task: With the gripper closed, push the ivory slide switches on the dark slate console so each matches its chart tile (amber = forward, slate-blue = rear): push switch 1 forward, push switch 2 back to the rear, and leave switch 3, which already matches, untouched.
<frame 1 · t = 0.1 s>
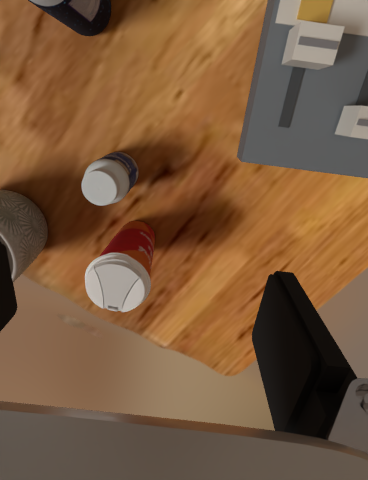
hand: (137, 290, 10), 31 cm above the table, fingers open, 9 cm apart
beverage can: (88, 8, 31), on the table
pill bottle: (120, 170, 39), on the table
planter: (17, 221, 43), on the table
console: (346, 94, 34), on the table
slider 2: (365, 123, 30), point 6 cm above the table, slide at 6.0 cm
paper cup: (137, 235, 44), on the table
slider 1: (310, 46, 27), point 6 cm above the table, slide at 0.0 cm
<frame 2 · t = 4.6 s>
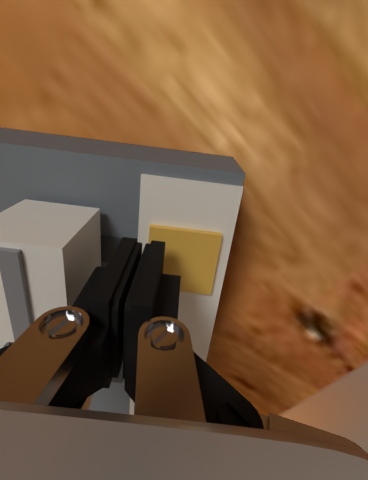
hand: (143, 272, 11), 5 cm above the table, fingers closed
console: (72, 316, 19), on the table
slider 1: (45, 270, 10), point 6 cm above the table, slide at 1.0 cm, touching gripper
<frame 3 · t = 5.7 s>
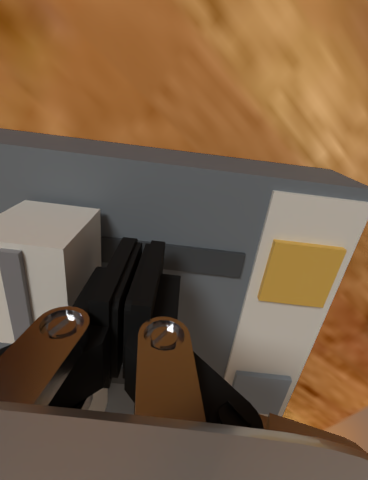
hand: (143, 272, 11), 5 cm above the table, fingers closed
console: (146, 325, 19), on the table
slider 2: (66, 408, 14), point 6 cm above the table, slide at 6.0 cm
slider 1: (45, 271, 10), point 6 cm above the table, slide at 6.2 cm, touching gripper
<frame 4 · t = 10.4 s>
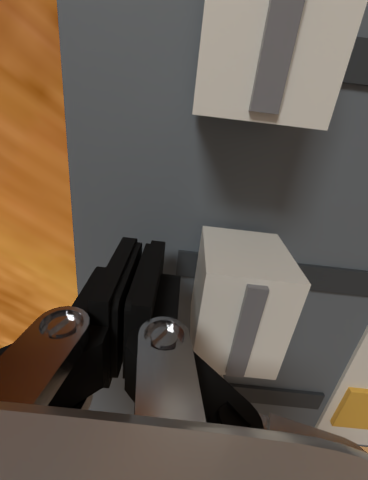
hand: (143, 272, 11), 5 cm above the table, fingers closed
slider 3: (189, 427, 14), point 6 cm above the table, slide at 6.0 cm
console: (258, 235, 16), on the table
slider 2: (237, 299, 10), point 6 cm above the table, slide at 5.1 cm, touching gripper
slider 1: (263, 30, 7), point 6 cm above the table, slide at 6.1 cm
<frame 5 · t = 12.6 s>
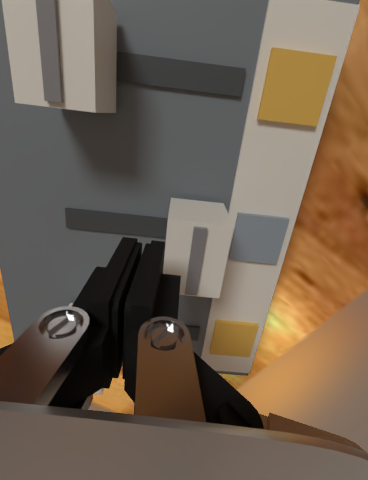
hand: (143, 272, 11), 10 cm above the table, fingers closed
slider 3: (85, 348, 18), point 6 cm above the table, slide at 6.0 cm
console: (149, 204, 20), on the table
slider 2: (194, 246, 15), point 6 cm above the table, slide at -0.1 cm
slider 1: (68, 53, 11), point 6 cm above the table, slide at 6.1 cm
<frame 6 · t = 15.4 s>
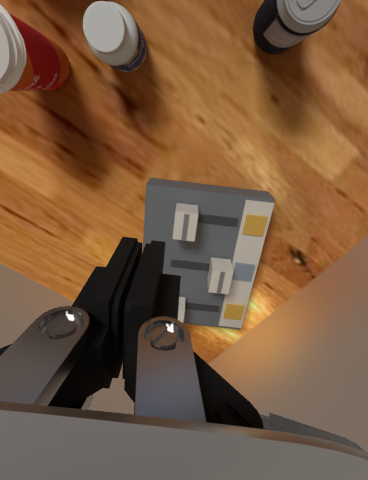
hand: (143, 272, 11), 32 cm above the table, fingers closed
beverage can: (275, 27, 33), on the table
slider 3: (174, 313, 45), point 6 cm above the table, slide at 6.0 cm
pill bottle: (126, 48, 35), on the table
console: (198, 253, 47), on the table
slider 2: (219, 275, 41), point 6 cm above the table, slide at -0.1 cm
paper cup: (49, 65, 36), on the table
slider 1: (185, 222, 38), point 6 cm above the table, slide at 6.1 cm
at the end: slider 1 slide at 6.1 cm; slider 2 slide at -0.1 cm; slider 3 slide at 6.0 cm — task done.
